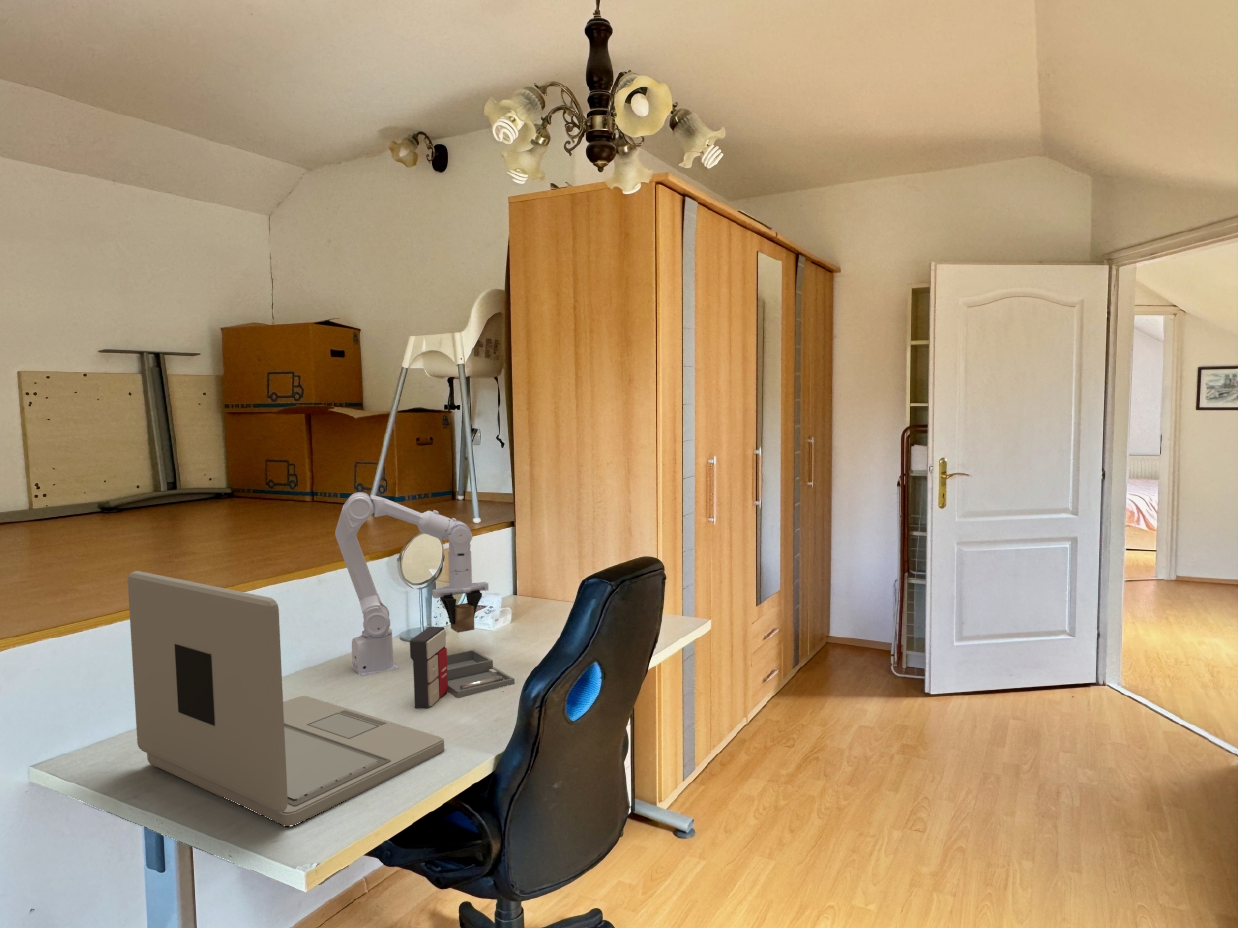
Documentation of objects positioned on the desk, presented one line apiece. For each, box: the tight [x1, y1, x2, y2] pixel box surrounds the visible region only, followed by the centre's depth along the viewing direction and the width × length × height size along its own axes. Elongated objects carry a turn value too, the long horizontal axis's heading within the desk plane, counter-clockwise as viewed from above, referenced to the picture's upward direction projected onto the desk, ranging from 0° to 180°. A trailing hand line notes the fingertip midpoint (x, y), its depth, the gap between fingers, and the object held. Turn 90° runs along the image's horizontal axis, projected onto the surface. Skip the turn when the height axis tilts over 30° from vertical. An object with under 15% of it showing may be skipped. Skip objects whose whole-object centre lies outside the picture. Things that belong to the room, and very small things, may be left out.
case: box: [447, 649, 494, 681], centre depth 191 cm, size 14×11×3 cm
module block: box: [450, 602, 475, 633], centre depth 202 cm, size 4×4×6 cm
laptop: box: [127, 570, 445, 827], centre depth 143 cm, size 44×34×36 cm
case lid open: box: [447, 666, 516, 699], centre depth 182 cm, size 14×11×2 cm
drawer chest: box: [409, 626, 448, 710], centre depth 173 cm, size 11×4×15 cm, turn 171°
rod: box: [460, 676, 503, 690], centre depth 180 cm, size 10×1×1 cm
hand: (461, 621), depth 202 cm, fingers closed on module block, 4 cm apart
